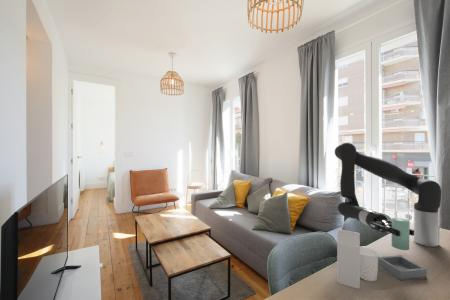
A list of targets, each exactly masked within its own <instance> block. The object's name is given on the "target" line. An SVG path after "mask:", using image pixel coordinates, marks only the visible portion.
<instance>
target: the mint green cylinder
mask: <svg viewBox="0 0 450 300" xmlns="http://www.w3.org/2000/svg"><path fill="white" fill-rule="evenodd" d="M391 221H392V228H394V229H396V230H399V231H400V236H396V235H394V234H391V247H393V248H395V249H397V250H399V251H400V250H401V251H408V250H410V235H409V234H410V229H411V228H410V227H411V226H410V225H411V221H410V220H409V219H407V218H406V219H405V218H403V217H402V218H401V217H391Z"/></svg>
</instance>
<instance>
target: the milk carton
mask: <svg viewBox="0 0 450 300" xmlns="http://www.w3.org/2000/svg"><path fill="white" fill-rule="evenodd" d="M360 242H361V233H359V232H355V231H352V230H345V229H339V228H338V229H337V241H336V249H337V252H336V255H337V256H336V257H337V259H336V260H337V261H336V262H337V264H336V267H337V268H336V271H337V272H336V275H337V277H336V278H337V279H336V280H337V283H338V284H340V285H345V286H348V287H352V288H353V289H354V288H355V289H357V290H360V286H361V284H360V282H361V281H360V280H361V278H360V246H361V243H360Z"/></svg>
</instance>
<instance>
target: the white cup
mask: <svg viewBox="0 0 450 300" xmlns="http://www.w3.org/2000/svg"><path fill="white" fill-rule="evenodd" d="M379 254H380V253H379V251H378V250H376V249H374V248H371V247H368V246H364V245H363V246H361V245H360V279H362V280H364V281H369V282H374V281H375V282H376V281H377V278H378V271H379V266H378V258H379V257H380V256H379Z"/></svg>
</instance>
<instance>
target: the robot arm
mask: <svg viewBox="0 0 450 300" xmlns="http://www.w3.org/2000/svg"><path fill="white" fill-rule="evenodd" d="M334 155H335V157H336V158H337V159H339V160H340V161H341V174H340V179H339V180H340V182H339V184H340V185H339V188H340V196H341V197H342V198H345V199H347V201H348V202H346V201H342V202H340V203H339V204H338V205H337V211H338V213H339V214H340V215H342V216H344V217H345V218H349V219H353V220H355V221H359V222H361V223H362V224H364V225H365V226H368V227H370V229H372V230H376V231H377V232H381V233H384V234H385V233H387V234H391V235H392V234H394V235H396V236H400V231H399V230H396V229H394V228H392V219H391V220H390V219H388V218H387V216H386V215H385V214H383V213H380V212H378V211H375V210H372V209H370V208H369V209H368V208H365V207H363V206H360V204H359V200H358V199H357V196H356V184H355V167H356V166H357V167H359V168H360V169H363V170H365V171H367V172H368V173H371V174H373V175H374V176H377V177H379V178H380V179H383V180H386V181H389V182H392V183H394V184H397V185H400V186H402V187H403V188H405V189H407V190H409V191H411V192H413V193H414V194H416V195H418V196H417V197H418V199H417V202H415V203H414V204H413V229H412V228H410V234H409V236H412V237H413V241H414V242H415V243H416V244H418V245H421V246H425V247H431V248H432V247H433V248H434V247H435V248H436V247H438V246H440V239H441V237H440V235H441V233H440V230H441V229H440V228H441V227H440V226H439V209H440V207H441V201H442V188H441V185H440V184H439V183H438V182H437V181H434V180H431V179H426V178H423V177H419V176H417V175H413V174H412V173H408V172H406V171H404V170H403V169H402V168H400V167H399V166H397V165H396V164H394V163H391V162H389V161H387V160H385V159H382V158H380V157H375V156H371V155H367V154H363V153H360V152H359V151H357V148H356V146H355V145H354V144H353V143H350V142H344V143H341V144H339V145H337V147H335V148H334Z"/></svg>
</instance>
